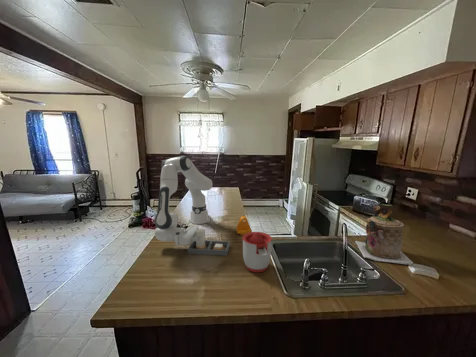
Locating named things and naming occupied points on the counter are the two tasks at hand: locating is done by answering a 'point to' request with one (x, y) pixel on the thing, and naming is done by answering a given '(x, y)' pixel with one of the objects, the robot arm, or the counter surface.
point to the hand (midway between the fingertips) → (201, 235)
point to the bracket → (243, 226)
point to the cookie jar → (383, 237)
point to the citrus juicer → (256, 251)
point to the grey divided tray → (216, 251)
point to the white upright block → (201, 242)
